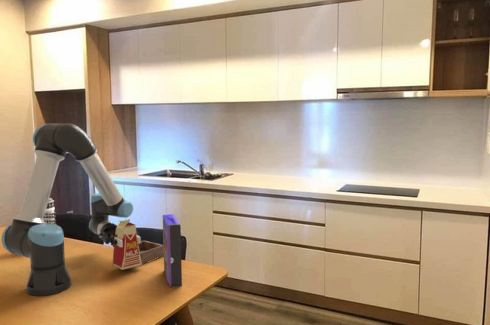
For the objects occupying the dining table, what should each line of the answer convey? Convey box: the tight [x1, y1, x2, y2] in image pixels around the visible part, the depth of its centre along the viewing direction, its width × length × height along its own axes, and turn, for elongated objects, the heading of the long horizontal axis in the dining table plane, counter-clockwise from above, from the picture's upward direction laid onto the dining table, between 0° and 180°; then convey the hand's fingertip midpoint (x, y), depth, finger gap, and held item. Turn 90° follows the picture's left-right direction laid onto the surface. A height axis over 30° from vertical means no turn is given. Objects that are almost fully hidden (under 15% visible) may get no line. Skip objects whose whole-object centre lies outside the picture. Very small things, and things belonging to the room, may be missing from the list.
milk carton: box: [112, 219, 143, 271], centre depth 169 cm, size 9×9×20 cm
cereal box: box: [162, 213, 183, 288], centre depth 160 cm, size 17×5×24 cm, turn 18°
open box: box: [138, 240, 164, 265], centre depth 184 cm, size 14×14×5 cm
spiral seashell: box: [43, 197, 57, 225], centre depth 197 cm, size 9×9×25 cm
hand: (130, 242), depth 165 cm, fingers closed on milk carton, 7 cm apart
